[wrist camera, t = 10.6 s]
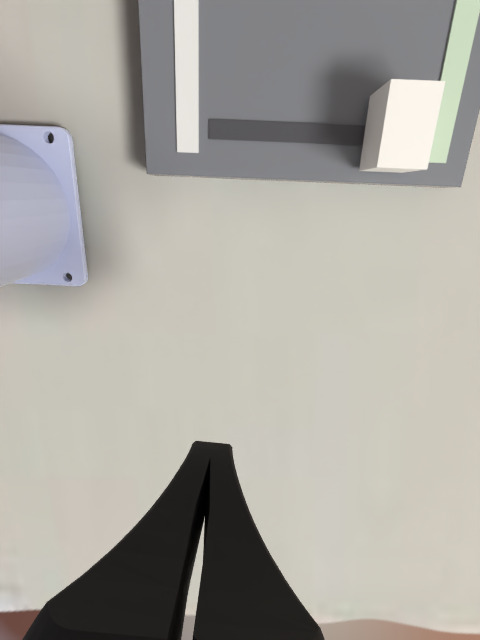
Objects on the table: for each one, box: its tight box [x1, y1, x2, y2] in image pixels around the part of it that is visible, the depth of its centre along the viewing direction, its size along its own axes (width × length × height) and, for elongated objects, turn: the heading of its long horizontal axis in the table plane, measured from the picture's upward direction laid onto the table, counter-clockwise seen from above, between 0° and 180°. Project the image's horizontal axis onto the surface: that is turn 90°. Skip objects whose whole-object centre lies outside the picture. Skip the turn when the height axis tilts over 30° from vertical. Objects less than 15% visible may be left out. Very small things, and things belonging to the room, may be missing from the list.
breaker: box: [359, 79, 445, 173], centre depth 14 cm, size 2×3×2 cm, turn 177°
